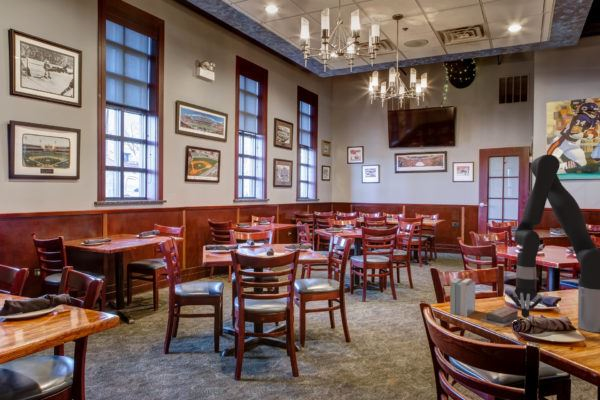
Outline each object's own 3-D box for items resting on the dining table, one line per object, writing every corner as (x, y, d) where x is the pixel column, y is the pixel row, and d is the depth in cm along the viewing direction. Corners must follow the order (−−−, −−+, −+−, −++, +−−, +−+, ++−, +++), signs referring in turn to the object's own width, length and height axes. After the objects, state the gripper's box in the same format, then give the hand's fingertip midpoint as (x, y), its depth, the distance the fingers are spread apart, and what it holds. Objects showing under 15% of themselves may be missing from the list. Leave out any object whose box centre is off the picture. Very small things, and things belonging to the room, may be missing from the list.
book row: (471, 310, 194) (471, 279, 194) (465, 315, 186) (465, 282, 186) (456, 308, 198) (456, 277, 198) (450, 313, 190) (450, 280, 190)
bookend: (475, 311, 195) (475, 281, 195) (467, 318, 184) (467, 286, 184) (458, 308, 200) (458, 279, 200) (449, 315, 189) (450, 284, 188)
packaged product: (500, 304, 190) (522, 309, 182) (500, 315, 190) (522, 320, 182) (480, 311, 179) (503, 316, 171) (480, 322, 179) (503, 328, 171)
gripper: (545, 277, 174) (544, 318, 175) (510, 273, 182) (509, 312, 183) (542, 280, 168) (541, 322, 169) (507, 276, 176) (506, 316, 177)
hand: (525, 317), depth 176 cm, fingers closed
